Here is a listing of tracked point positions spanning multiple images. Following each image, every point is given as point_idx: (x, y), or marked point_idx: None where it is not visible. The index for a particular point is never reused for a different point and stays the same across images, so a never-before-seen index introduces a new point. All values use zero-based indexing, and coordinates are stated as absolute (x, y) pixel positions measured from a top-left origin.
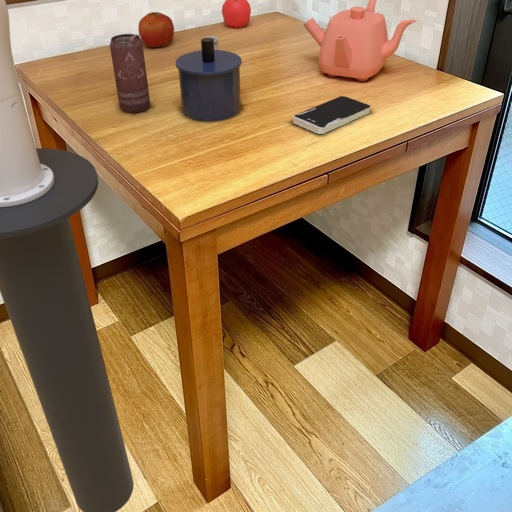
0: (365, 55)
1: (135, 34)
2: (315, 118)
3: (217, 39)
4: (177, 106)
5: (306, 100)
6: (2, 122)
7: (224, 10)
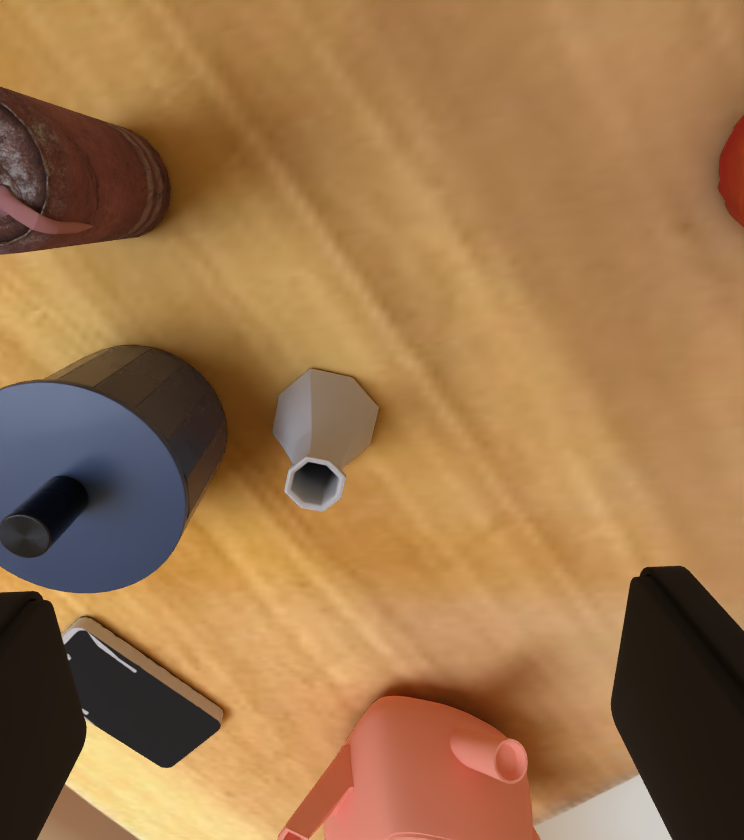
0: (324, 829)
1: (34, 215)
2: (76, 669)
3: (307, 508)
4: (151, 325)
5: (227, 645)
6: None
7: None
